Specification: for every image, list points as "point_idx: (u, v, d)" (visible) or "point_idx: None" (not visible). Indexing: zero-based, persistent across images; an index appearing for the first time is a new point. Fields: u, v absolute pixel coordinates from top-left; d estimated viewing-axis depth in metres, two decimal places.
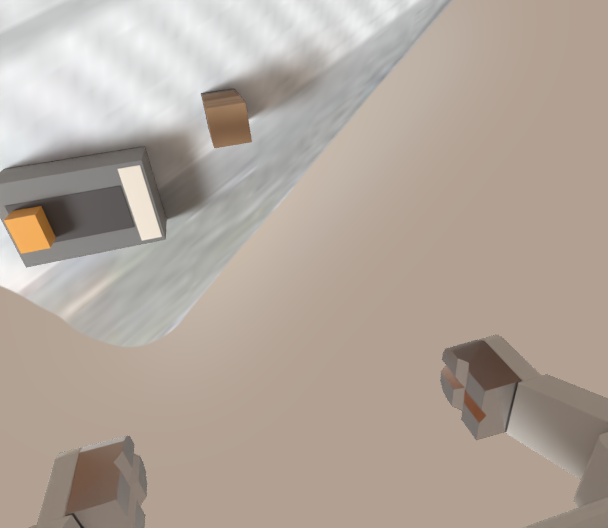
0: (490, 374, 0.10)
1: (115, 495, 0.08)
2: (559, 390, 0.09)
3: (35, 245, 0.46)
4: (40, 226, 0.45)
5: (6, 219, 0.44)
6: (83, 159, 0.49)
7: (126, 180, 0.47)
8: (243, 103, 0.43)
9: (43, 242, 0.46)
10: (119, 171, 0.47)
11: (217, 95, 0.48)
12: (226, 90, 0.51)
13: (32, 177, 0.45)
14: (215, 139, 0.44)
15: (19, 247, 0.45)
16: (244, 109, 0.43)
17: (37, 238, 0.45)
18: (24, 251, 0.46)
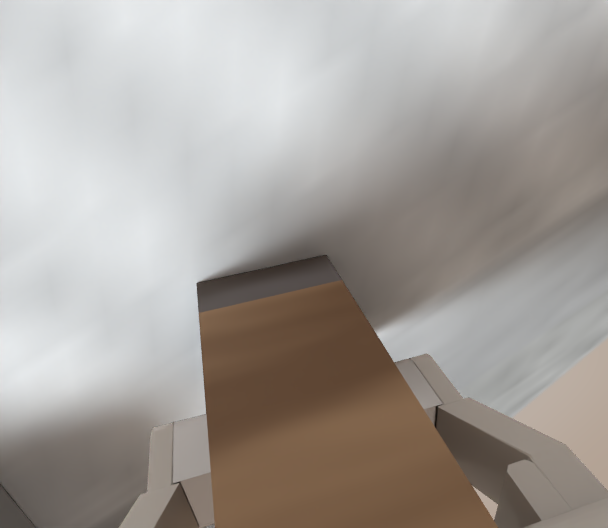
0: None
1: None
2: (477, 415, 0.09)
3: None
4: None
5: None
6: None
7: None
8: None
9: None
10: None
11: (274, 337, 0.10)
12: (299, 269, 0.13)
13: None
14: None
15: None
16: None
17: None
18: None
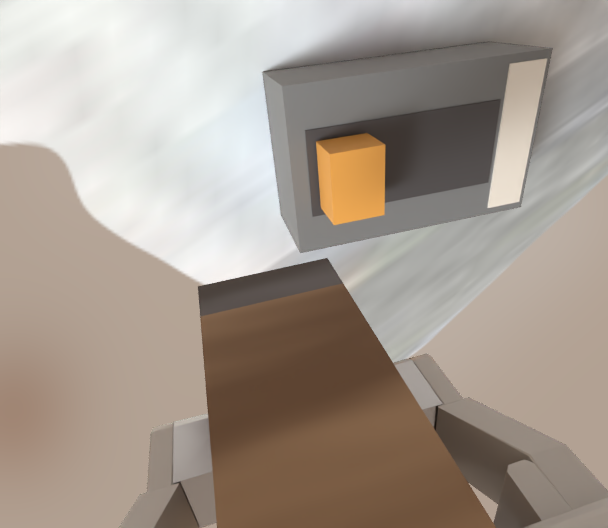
0: None
1: None
2: (477, 415, 0.09)
3: (361, 209, 0.23)
4: (384, 169, 0.23)
5: (332, 152, 0.21)
6: (407, 55, 0.27)
7: (512, 89, 0.25)
8: None
9: (377, 203, 0.23)
10: (510, 69, 0.24)
11: (275, 341, 0.10)
12: (300, 272, 0.13)
13: (364, 73, 0.23)
14: None
15: (335, 212, 0.23)
16: None
17: (371, 194, 0.23)
18: (340, 220, 0.23)
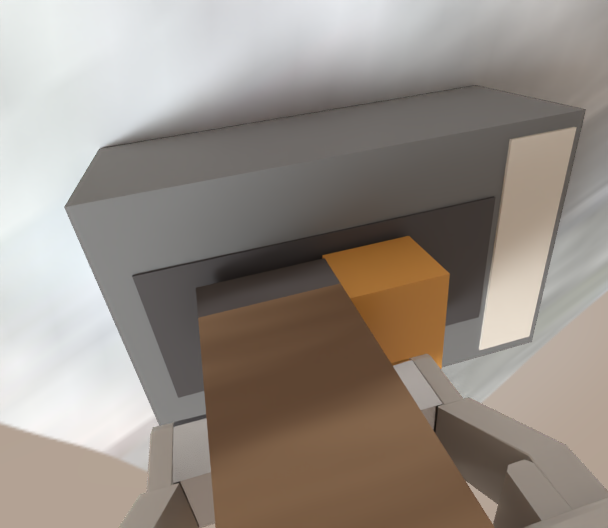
0: None
1: None
2: (477, 415, 0.09)
3: None
4: (444, 310, 0.13)
5: (353, 293, 0.12)
6: (339, 117, 0.16)
7: (515, 179, 0.14)
8: None
9: None
10: (512, 149, 0.14)
11: (273, 342, 0.10)
12: (297, 273, 0.13)
13: (237, 170, 0.12)
14: None
15: None
16: None
17: (420, 350, 0.13)
18: None
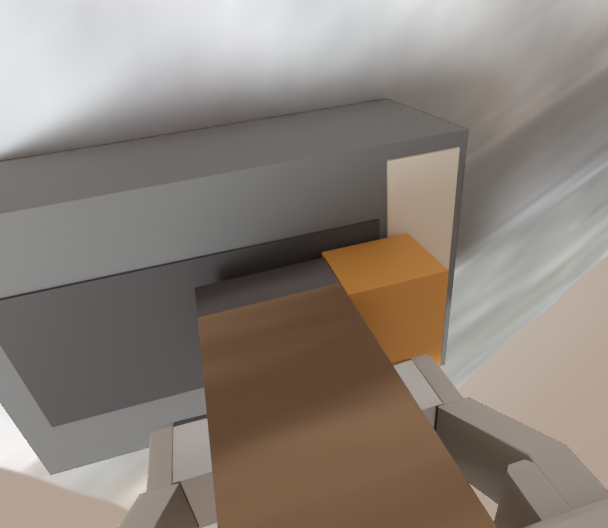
0: None
1: None
2: (477, 415, 0.09)
3: None
4: (442, 307, 0.13)
5: (352, 290, 0.12)
6: (231, 132, 0.16)
7: (400, 200, 0.14)
8: None
9: None
10: (391, 170, 0.13)
11: (273, 341, 0.10)
12: (296, 272, 0.13)
13: (84, 194, 0.11)
14: None
15: None
16: None
17: (419, 347, 0.13)
18: None
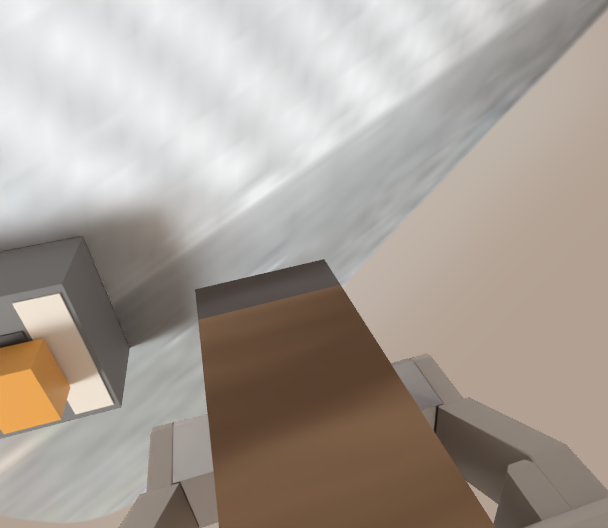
0: (412, 397, 0.10)
1: None
2: (478, 415, 0.09)
3: (31, 419, 0.23)
4: (42, 386, 0.23)
5: None
6: None
7: (33, 321, 0.24)
8: None
9: (47, 412, 0.23)
10: (18, 307, 0.23)
11: (274, 344, 0.10)
12: (297, 274, 0.13)
13: None
14: None
15: (0, 424, 0.23)
16: None
17: (36, 407, 0.23)
18: (10, 430, 0.23)
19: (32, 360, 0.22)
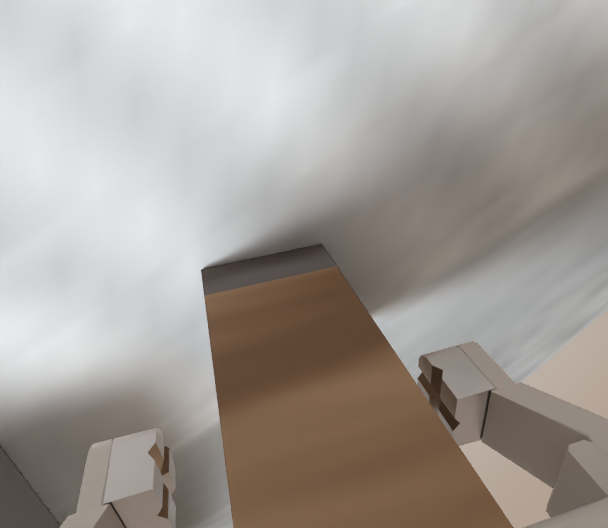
0: (463, 382, 0.10)
1: (151, 484, 0.08)
2: (531, 398, 0.09)
3: None
4: None
5: None
6: None
7: None
8: None
9: None
10: None
11: (275, 316, 0.11)
12: (296, 257, 0.13)
13: None
14: None
15: None
16: None
17: None
18: None
19: None
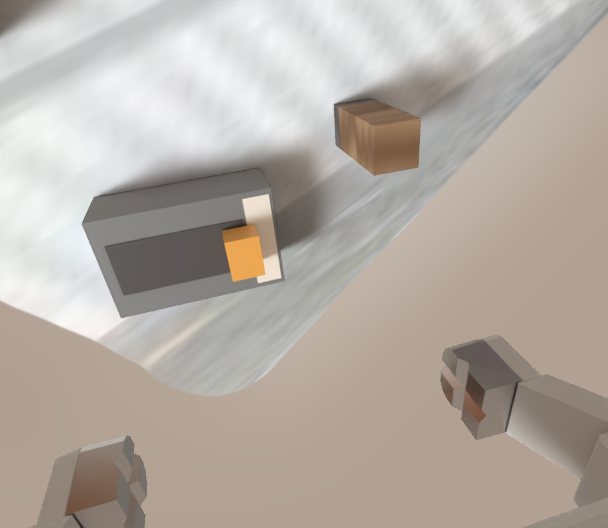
0: (490, 374, 0.10)
1: (115, 495, 0.08)
2: (559, 390, 0.09)
3: (250, 272, 0.38)
4: None
5: (226, 241, 0.36)
6: (191, 185, 0.40)
7: (249, 212, 0.38)
8: (418, 119, 0.34)
9: (259, 268, 0.38)
10: (244, 202, 0.38)
11: (362, 107, 0.39)
12: (364, 100, 0.41)
13: (139, 211, 0.36)
14: (378, 164, 0.35)
15: (233, 274, 0.38)
16: (418, 127, 0.34)
17: (254, 263, 0.38)
18: (237, 279, 0.38)
19: (256, 232, 0.37)
